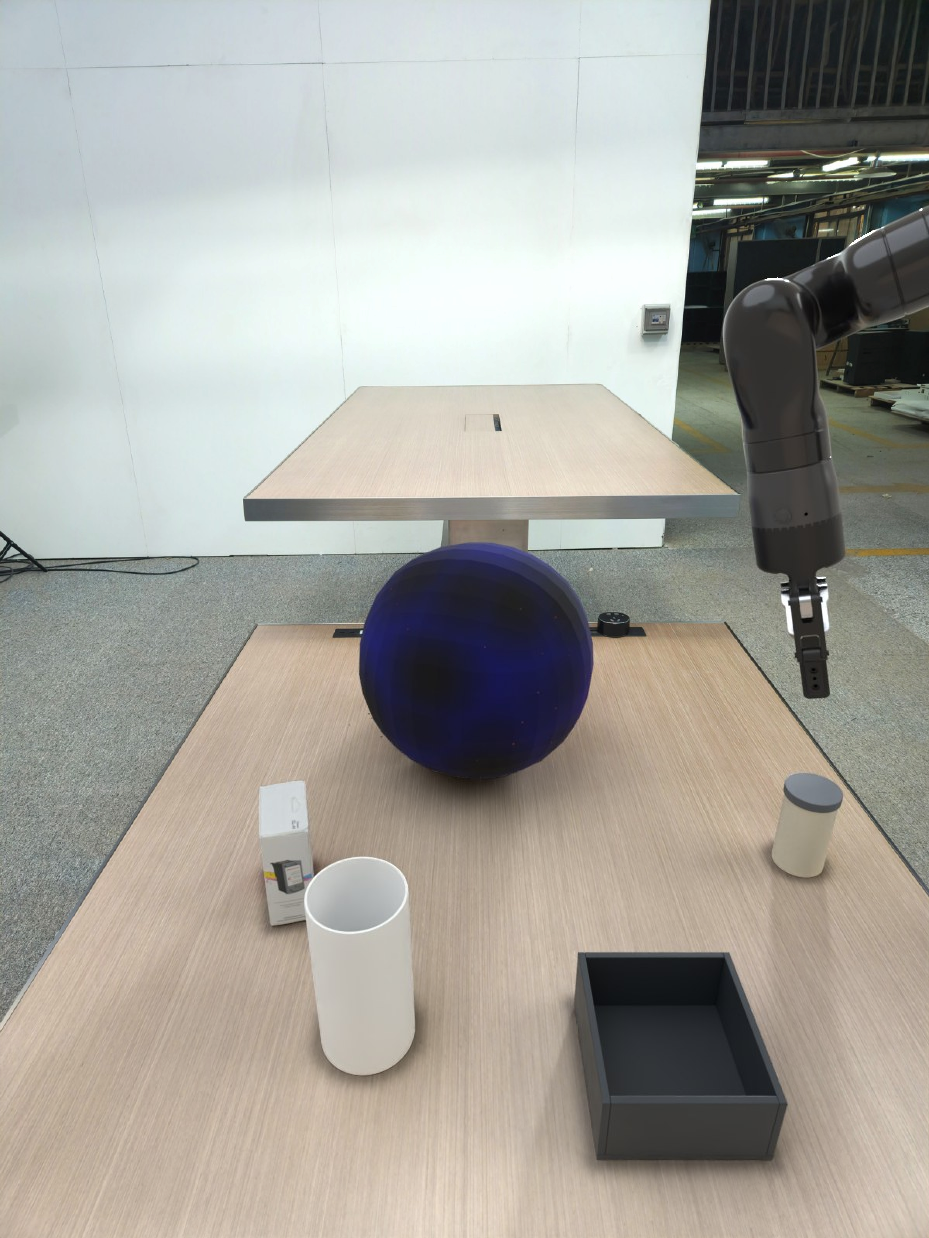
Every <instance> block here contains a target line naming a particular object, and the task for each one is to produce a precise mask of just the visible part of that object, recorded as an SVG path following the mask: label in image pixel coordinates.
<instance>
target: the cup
mask: <svg viewBox="0 0 929 1238" xmlns="http://www.w3.org/2000/svg"><path fill="white" fill-rule="evenodd" d="M304 908H305V916H306V920H305V925H306V931H307V939H308V946H309V947H308V948H309V955H310V963H311V971H312V972H311V973H312V979H313V986H314V996H315V1003H316V1010H317V1020H318V1027H319V1035H320V1036H319V1037H320V1043H321V1048H322V1050H323V1054H324V1056H325V1057H326V1058H327V1060H328V1061H329V1062H330V1063H331V1064H332V1066H334V1067H335V1068H337V1069H338V1070H340V1071H342V1072H344V1073H345V1074H349V1075H353V1076H354V1075H355V1076H371V1075H375V1074H379V1073H382V1072H385V1071H386V1070H388V1069H391V1067H392V1068H393V1066H395V1065H397V1063H399V1062H400V1061H401V1060H402V1059H403V1058H404V1056H405V1055H406V1054H407V1053H408V1051H409V1050H410V1047H411V1046H412V1043H413V1041H414V1037H415V1033H416V1019H415V1018H416V1017H415V1016H416V1015H415V997H414V996H415V995H414V976H413V975H414V974H413V958H412V957H413V956H412V955H413V954H412V934H411V930H412V929H411V913H410V912H411V910H410V894H409V886H408V882H407V879H406V877H405V875H404V873H403V872H402V871H401V870H400V869H399V868H398V867H397V866H395V865H394V864H393V863H391V862H389V861H387V860H384V859H381V858H378V857H372V856H354V857H348V858H343V859H340V860H338V861H335V862H333V863H331V864H329V865H327V866H326V867H323V868H322V869H321V870H320V871H319V872H318V873H316V875H314V878H313V879H312V880H311V882H310V883H309V885H308V887H307V889H306V893H305V898H304Z"/></svg>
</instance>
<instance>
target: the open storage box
mask: <svg viewBox="0 0 929 1238" xmlns="http://www.w3.org/2000/svg"><path fill="white" fill-rule="evenodd" d="M574 986H575V987H574V999H573V1009H574V1015H575V1020H576V1028H577V1029H576V1030H577V1035H578V1042H579V1048H580V1056H581V1063H582V1070H583V1076H584V1077H583V1078H584V1082H585V1083H584V1084H585V1091H586V1097H587V1104H588V1111H589V1117H590V1124H591V1125H590V1126H591V1131H592V1139H593V1146H594V1152H595V1159H596V1160H602V1161H604V1160H611V1161H612V1160H613V1161H614V1160H615V1161H617V1160H620V1161H622V1160H625V1161H626V1160H627V1161H628V1160H632V1161H634V1160H639V1161H641V1160H642V1161H643V1160H644V1161H645V1160H650V1161H653V1160H654V1161H655V1160H656V1161H658V1160H659V1161H661V1160H662V1161H665V1160H666V1161H669V1160H670V1161H671V1160H672V1161H676V1160H677V1161H679V1160H680V1161H681V1160H683V1161H687V1160H688V1161H691V1160H693V1161H694V1160H695V1161H697V1160H698V1161H702V1160H703V1161H705V1160H706V1161H707V1160H709V1161H710V1160H711V1161H717V1160H718V1161H732V1160H733V1161H739V1160H740V1161H742V1160H744V1161H772V1160H773V1159H774V1156H775V1152H776V1148H777V1145H778V1141H779V1137H780V1134H781V1131H782V1127H783V1122H784V1120H785V1115H786V1113H787V1112H786V1111H787V1108H788V1105H789V1104H788V1103H789V1102H788V1100H787V1098H786V1095H785V1093H784V1090H783V1088H782V1086H781V1083H780V1080H779V1077H778V1074H777V1071H776V1069H775V1068H774V1065H773V1062H772V1059H771V1056H770V1054H769V1052H768V1049H767V1046H766V1044H765V1042H764V1039H763V1036H762V1034H761V1031H760V1028H759V1026H758V1023H757V1020H756V1018H755V1016H754V1013H753V1010H752V1007H751V1005H750V1002H749V999H748V997H747V995H746V992H745V989H744V987H743V984H742V982H741V979H740V976H739V974H738V971H737V969H736V966H735V963H734V961H733V958H732V956H731V953H730V952H729V951H723V952H722V951H585V952H584V951H578V952H577V963H576V973H575V985H574Z"/></svg>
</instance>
